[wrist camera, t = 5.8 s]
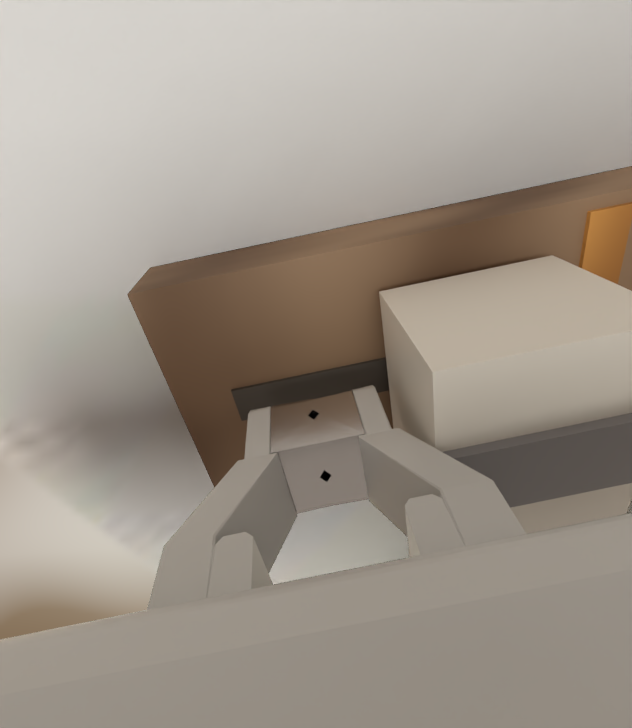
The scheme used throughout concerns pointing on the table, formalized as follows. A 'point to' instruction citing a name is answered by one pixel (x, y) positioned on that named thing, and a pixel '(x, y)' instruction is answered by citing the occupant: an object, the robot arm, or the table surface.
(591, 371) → the fader tab
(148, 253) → the table surface
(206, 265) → the slider board
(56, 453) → the table surface
